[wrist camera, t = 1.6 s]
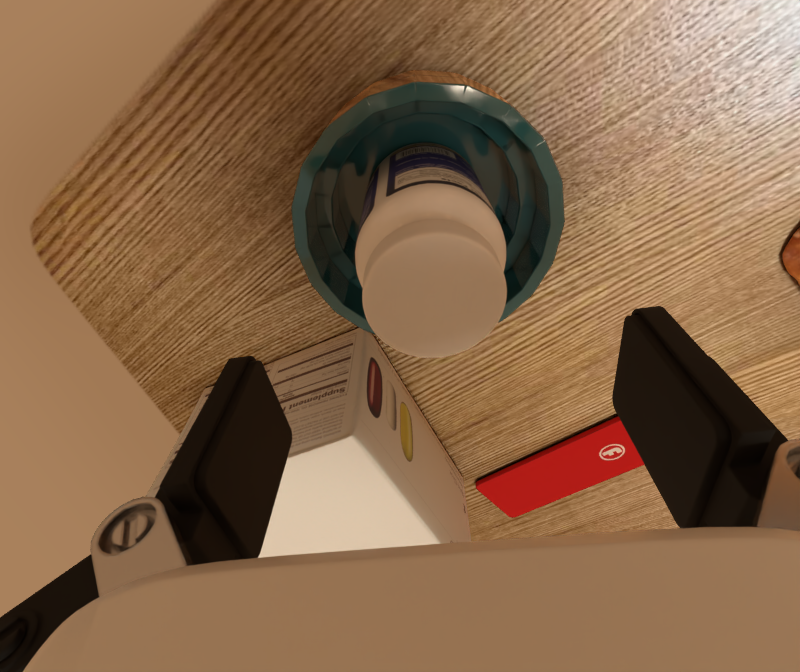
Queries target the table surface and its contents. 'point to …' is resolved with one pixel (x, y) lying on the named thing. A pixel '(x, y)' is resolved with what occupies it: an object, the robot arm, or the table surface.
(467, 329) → the pill bottle
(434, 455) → the supplement box
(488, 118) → the teal bowl
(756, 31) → the table surface
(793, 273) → the bread slice
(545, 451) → the electronic device
